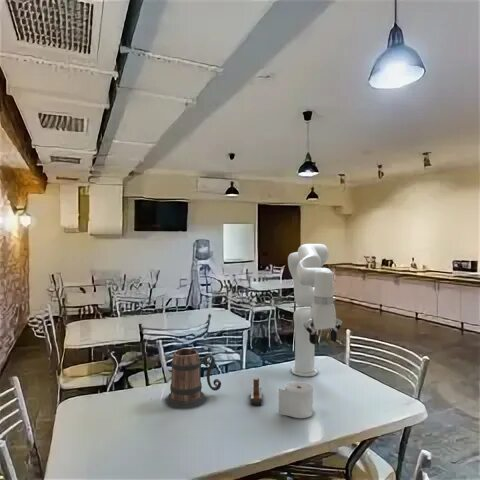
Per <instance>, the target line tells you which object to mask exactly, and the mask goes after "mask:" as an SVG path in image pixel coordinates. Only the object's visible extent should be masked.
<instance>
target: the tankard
mask: <svg viewBox="0 0 480 480" xmlns="http://www.w3.org/2000/svg"><path fill="white" fill-rule="evenodd" d="M210 358H211V360H210V363H209V365H208V359H210ZM215 361H216V360H215V357H214V356H213V355H212V354H210V353H208V354H206V355H205V356H204V357H202V360H201V359H200V354H199V351H198V350H197V349H192V348H186V347H185V348H179V349H177V350H175V351H174V352H173V355H172V360H171V365H170V366H171V378H170V379H171V381H170V387H169V391H170V392H169V394H168V396H167V397H166V398H165V404H166V405H167V406H168V407H170V408H173V409H178V410H189V409H195V408H198V407H200V406H203V405H204V404H206V402H207V397H206V396H205V394H204V392H203V391H202V388H203V385H202V380H201V379H202V377H201V365H202V363H203V365H204V366H205V367H206V368H207V370H206V382H207V386H208V387H209V388H210V389H211V391H214V392H217V391H218V390H220V389H221V387H222V382H221V381H220V379H219V378H216V379H215V378H214V380H213V382H212V384H213V385H214V386H212V384H211V379H210V378H211V372H212V370H213V368H214V366H215Z"/></svg>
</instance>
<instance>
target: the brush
mask: <svg viewBox="0 0 480 480" xmlns="http://www.w3.org/2000/svg"><path fill="white" fill-rule="evenodd" d="M252 379H253V380H252V381H253V386H252V387H250V402H251V403H250V405H251V406H262V402H263V394H262V393H263V392H262V387H260V377H256V376H255V377H253V378H252Z"/></svg>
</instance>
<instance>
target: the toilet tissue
mask: <svg viewBox="0 0 480 480" xmlns="http://www.w3.org/2000/svg"><path fill="white" fill-rule="evenodd" d="M313 399H314V387H313V385H311V384H310V383H309V382H304V381H290V382H287V383H285V386H284V389H281V388H278V414H281V415H284V416H286V417H287V416H288V417H290V418H295V419H306V418H307V419H308V418H309V417H312V415H313V412H314V411H313V408H314V406H313V404H314V400H313Z"/></svg>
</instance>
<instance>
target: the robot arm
mask: <svg viewBox="0 0 480 480" xmlns="http://www.w3.org/2000/svg"><path fill="white" fill-rule="evenodd" d="M329 256H330V255H329V249H328V247H327V245H325V244H323V243H305V244H302V245H300V246H299V247H298V249H297V251H295V252H291V253H289V255H288V256H287V266H288V270H289V273H290V276H291V277H292V282H293V294H294V301H295V304H296V305H297V306H300V307H301V308H297V309H295V310H294V312H293V315H292V316H293V324H294V366H292V368H291V373H292V374H294V375H296V376H298V377H299V376H300V377H314V376H317V374H318V369H317V368H316V367H315V351H316V350H315V349H316V348H315V347H316V345H315V344H316V331H318V330H327V329H330V341H332V342H333V343H336V342H337V337H338V333H339V330H340V329H341V327H342V324H343V320H341V319H340V318H338V317H337V312H336V306H335V303H334V302H335V301H336V297H335V296H334V272H333V271H332V270H331V269H330V268H327V267H324V265H325V263H326V262H327V261H328V259H329Z"/></svg>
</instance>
